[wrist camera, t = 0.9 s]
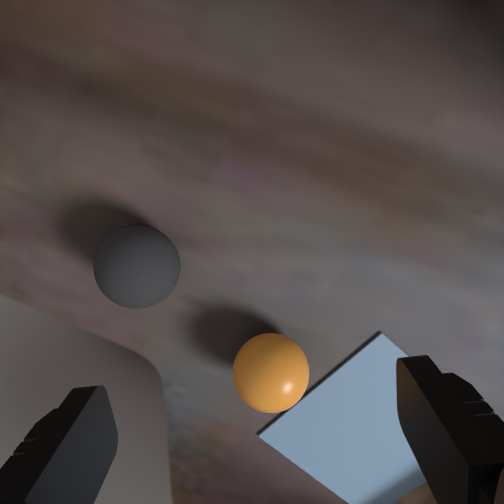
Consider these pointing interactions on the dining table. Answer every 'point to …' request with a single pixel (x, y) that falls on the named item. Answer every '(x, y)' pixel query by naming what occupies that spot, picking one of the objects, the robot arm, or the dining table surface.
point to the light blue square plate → (352, 430)
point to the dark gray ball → (136, 266)
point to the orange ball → (270, 372)
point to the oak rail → (419, 496)
